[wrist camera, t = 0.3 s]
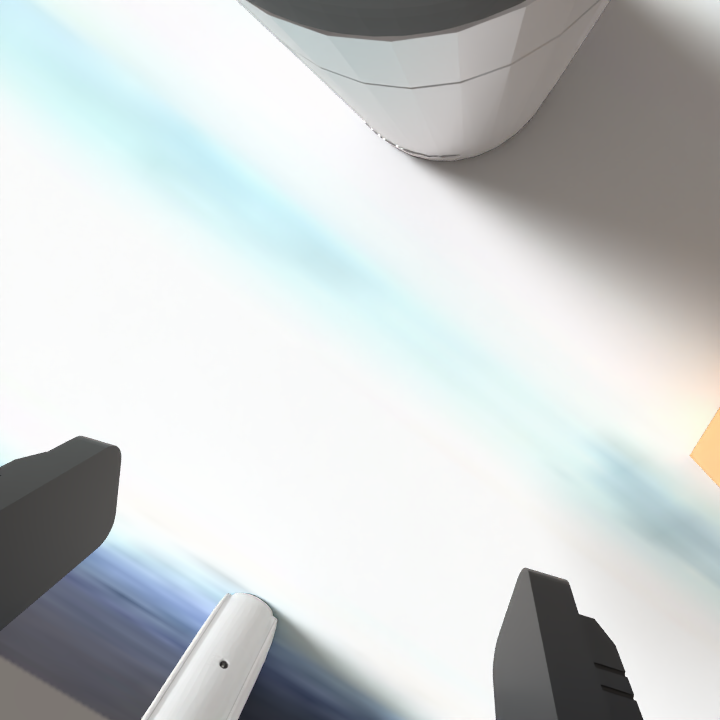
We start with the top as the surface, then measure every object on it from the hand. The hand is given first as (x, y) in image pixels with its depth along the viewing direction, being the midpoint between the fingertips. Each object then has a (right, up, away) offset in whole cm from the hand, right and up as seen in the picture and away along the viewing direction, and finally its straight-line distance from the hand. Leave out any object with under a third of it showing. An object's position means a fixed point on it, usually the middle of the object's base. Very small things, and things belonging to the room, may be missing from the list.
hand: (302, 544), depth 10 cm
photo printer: (-7, -15, +24) cm, 29 cm away
